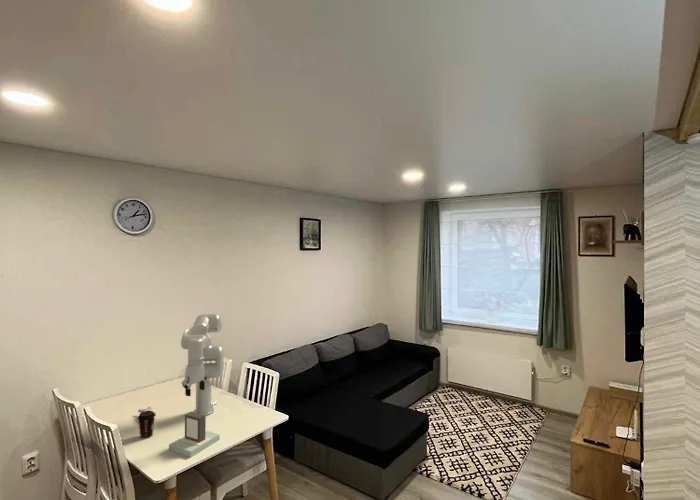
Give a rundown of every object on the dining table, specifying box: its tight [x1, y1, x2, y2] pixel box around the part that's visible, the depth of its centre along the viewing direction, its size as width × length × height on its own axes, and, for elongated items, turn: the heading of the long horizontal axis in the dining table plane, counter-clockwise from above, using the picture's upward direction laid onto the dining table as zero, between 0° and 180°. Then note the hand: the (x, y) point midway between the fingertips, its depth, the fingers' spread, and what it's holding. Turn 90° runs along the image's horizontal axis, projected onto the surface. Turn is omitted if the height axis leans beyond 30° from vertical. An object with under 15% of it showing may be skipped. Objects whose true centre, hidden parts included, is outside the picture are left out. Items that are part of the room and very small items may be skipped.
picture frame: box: [184, 411, 207, 443], centre depth 207 cm, size 4×11×13 cm, turn 65°
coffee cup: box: [137, 410, 156, 440], centre depth 216 cm, size 9×8×13 cm
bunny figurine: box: [137, 406, 157, 418], centre depth 239 cm, size 10×5×15 cm
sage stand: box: [168, 429, 220, 458], centre depth 207 cm, size 20×16×3 cm
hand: (195, 392), depth 207 cm, fingers open, 9 cm apart
